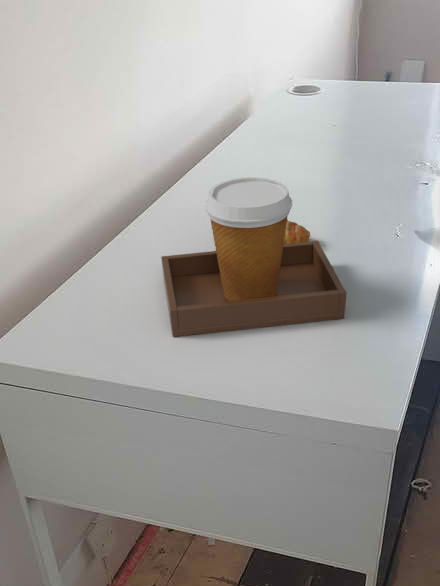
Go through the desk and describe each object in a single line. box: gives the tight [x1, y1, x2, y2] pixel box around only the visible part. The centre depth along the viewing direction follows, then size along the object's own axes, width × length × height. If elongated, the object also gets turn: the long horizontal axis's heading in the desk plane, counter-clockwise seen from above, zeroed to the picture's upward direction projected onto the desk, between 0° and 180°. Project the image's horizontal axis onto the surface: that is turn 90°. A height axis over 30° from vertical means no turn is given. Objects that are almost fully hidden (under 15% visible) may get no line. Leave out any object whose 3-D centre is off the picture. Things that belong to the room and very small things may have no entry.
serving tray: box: [160, 240, 347, 338], centre depth 85 cm, size 20×14×3 cm
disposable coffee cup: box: [204, 176, 293, 301], centre depth 81 cm, size 10×10×12 cm
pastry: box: [284, 219, 311, 244], centre depth 95 cm, size 9×7×4 cm
